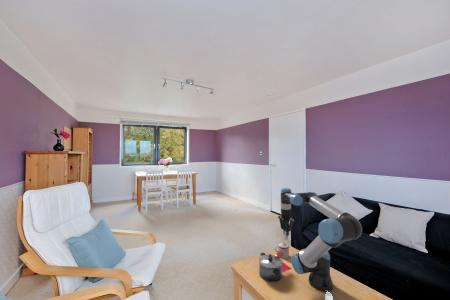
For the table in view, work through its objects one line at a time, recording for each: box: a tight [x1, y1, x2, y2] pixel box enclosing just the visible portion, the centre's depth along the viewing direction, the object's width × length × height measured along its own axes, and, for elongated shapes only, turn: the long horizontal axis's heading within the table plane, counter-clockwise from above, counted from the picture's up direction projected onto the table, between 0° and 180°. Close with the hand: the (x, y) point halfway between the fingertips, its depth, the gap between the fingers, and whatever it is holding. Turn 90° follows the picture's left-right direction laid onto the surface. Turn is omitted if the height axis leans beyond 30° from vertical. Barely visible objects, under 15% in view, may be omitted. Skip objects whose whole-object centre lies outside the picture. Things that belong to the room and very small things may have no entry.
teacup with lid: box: [274, 241, 290, 259], centre depth 174 cm, size 12×9×12 cm
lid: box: [258, 251, 283, 269], centre depth 149 cm, size 23×17×4 cm
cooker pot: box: [258, 252, 283, 283], centre depth 149 cm, size 26×16×9 cm, turn 12°
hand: (286, 239), depth 153 cm, fingers closed
